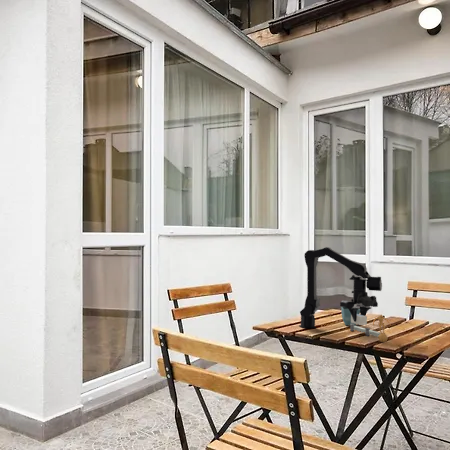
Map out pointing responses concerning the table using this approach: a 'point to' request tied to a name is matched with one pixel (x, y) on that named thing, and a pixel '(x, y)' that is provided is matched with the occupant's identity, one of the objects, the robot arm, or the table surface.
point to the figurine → (382, 336)
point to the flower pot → (347, 315)
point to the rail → (364, 330)
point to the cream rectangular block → (360, 320)
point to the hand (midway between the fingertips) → (358, 321)
